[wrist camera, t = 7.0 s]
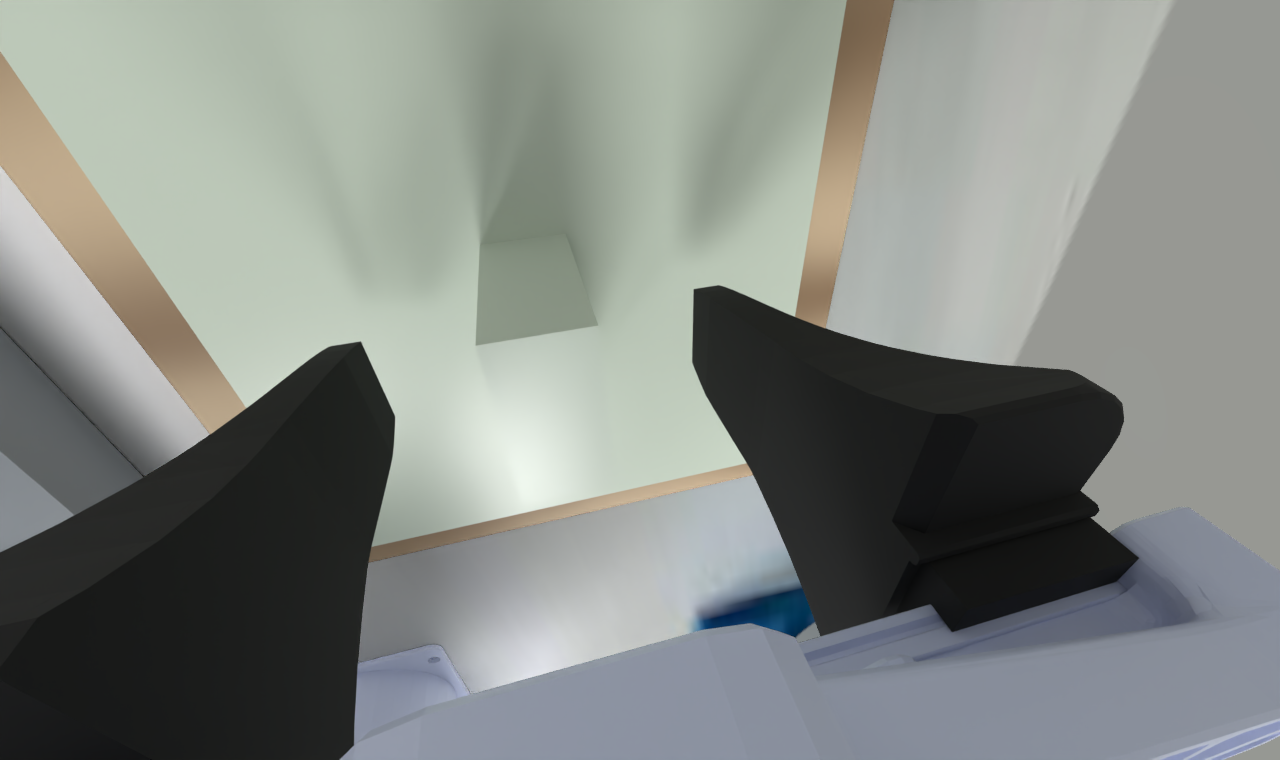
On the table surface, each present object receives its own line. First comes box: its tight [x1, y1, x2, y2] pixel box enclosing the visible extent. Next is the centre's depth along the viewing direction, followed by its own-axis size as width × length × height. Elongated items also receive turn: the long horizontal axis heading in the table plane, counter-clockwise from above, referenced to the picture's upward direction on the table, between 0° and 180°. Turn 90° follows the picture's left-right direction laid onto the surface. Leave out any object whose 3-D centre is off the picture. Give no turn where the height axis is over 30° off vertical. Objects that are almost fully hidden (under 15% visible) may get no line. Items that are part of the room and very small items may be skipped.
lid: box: [0, 0, 847, 547], centre depth 11 cm, size 15×15×5 cm
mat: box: [0, 0, 894, 563], centre depth 13 cm, size 18×18×1 cm
